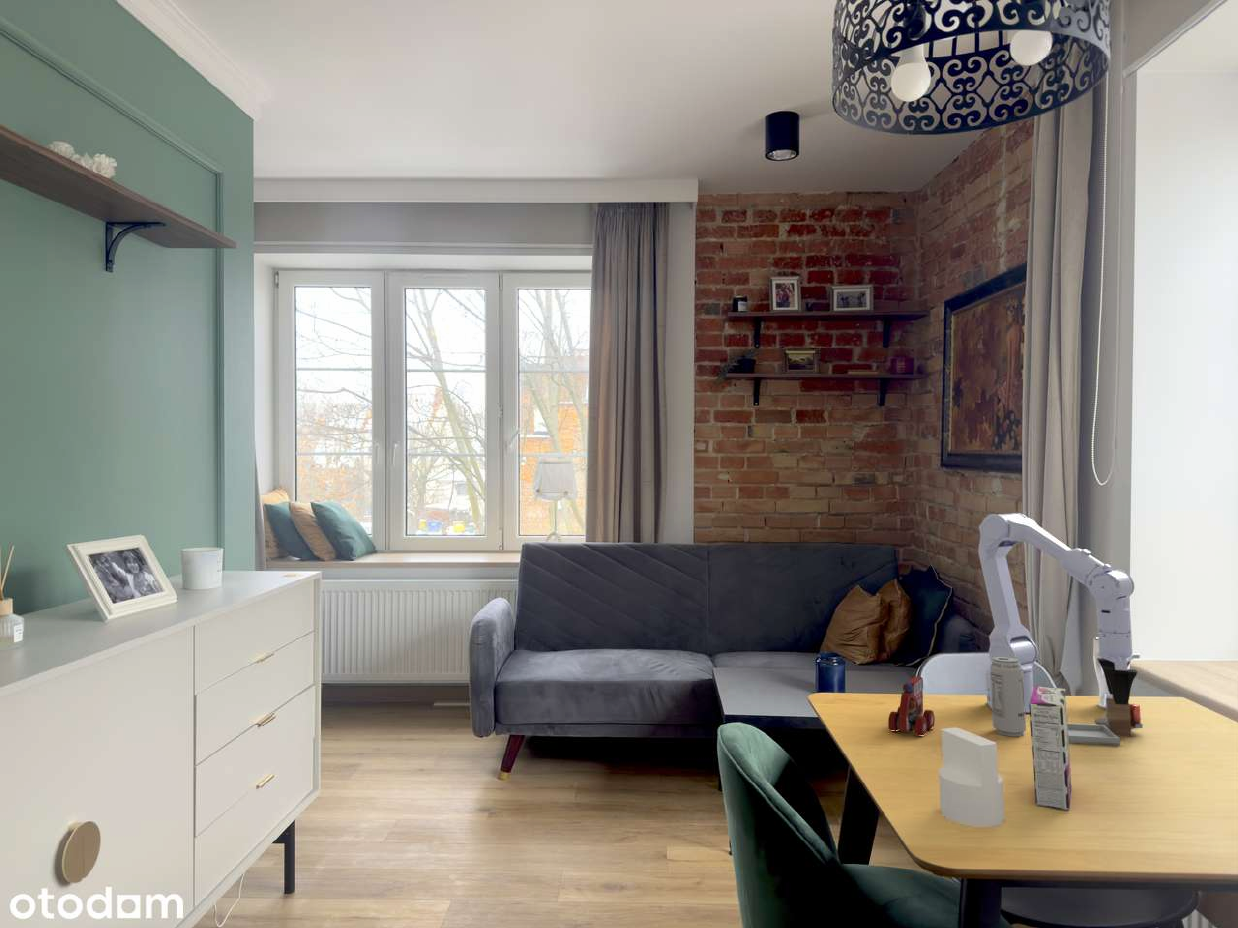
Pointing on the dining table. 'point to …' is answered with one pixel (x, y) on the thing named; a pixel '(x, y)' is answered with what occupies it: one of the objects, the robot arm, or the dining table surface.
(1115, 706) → the block
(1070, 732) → the tray
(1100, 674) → the beer glass
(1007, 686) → the energy drink can
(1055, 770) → the candy bar box
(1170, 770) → the dining table surface
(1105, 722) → the crank hub
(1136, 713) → the crank
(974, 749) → the base with upright slab
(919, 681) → the toy fire truck
